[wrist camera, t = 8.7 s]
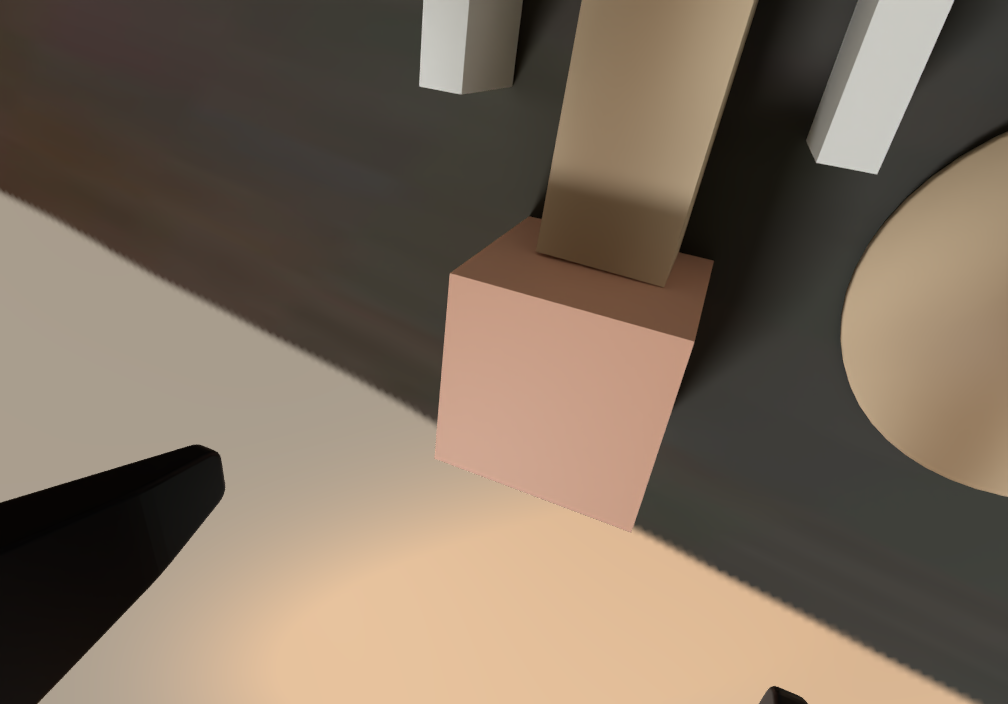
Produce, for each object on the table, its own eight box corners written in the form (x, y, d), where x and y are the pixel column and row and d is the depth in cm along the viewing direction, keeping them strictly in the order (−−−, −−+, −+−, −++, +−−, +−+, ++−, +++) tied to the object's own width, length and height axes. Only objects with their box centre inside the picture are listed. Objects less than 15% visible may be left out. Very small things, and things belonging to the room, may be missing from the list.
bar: (852, -294, 10) (880, -403, 8) (680, 248, 15) (663, 287, 13) (680, -298, 11) (655, -400, 8) (571, 219, 16) (536, 251, 13)
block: (714, 259, 15) (694, 341, 11) (662, 417, 17) (631, 532, 13) (530, 215, 16) (450, 272, 12) (507, 367, 19) (434, 458, 15)
